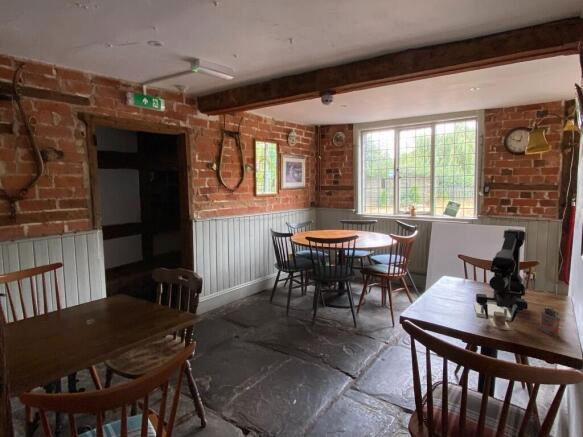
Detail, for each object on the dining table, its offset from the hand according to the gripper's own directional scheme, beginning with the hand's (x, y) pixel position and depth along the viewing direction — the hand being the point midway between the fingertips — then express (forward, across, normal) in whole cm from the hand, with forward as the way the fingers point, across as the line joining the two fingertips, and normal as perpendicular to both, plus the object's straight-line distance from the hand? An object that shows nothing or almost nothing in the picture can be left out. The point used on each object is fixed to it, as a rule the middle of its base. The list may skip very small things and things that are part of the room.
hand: (499, 320), depth 152 cm
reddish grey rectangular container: (+2, +18, 0) cm, 18 cm away
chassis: (+2, -1, +15) cm, 15 cm away
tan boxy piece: (+2, 0, 0) cm, 2 cm away
